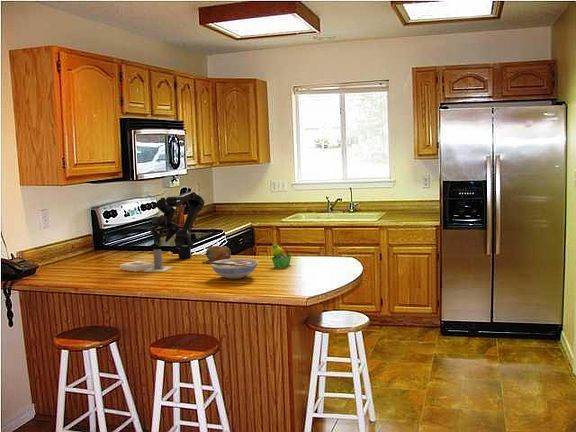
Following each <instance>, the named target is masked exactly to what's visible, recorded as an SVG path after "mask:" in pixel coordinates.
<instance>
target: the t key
mask: <svg viewBox="0 0 576 432" xmlns="http://www.w3.org/2000/svg"><path fill="white" fill-rule="evenodd" d="M152 251H153V263H154V266H152V269H164V268H165V267H166V266H165V265H163V255H162V253H163V252H162V249H161V248H160V249H159V248H157V249H156V248H155V249H153V250H152Z"/></svg>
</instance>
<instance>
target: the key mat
mask: <svg viewBox="0 0 576 432" xmlns="http://www.w3.org/2000/svg"><path fill="white" fill-rule="evenodd" d="M173 268H174V267H173V266H165V268H164V269H152V267H151V268H149V269H145V270H143V272H144V273H165V272H168V271H169V270H171V269H173Z"/></svg>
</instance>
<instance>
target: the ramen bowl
mask: <svg viewBox="0 0 576 432" xmlns="http://www.w3.org/2000/svg"><path fill="white" fill-rule="evenodd" d="M202 264H204V265H210V266H211V268H212V270H213V271H214V272H215V273H216V275H219V276H221V277H223V278H227V279H228V280H240V279H243V278H245V277H246V276H248V275H251V274H252V273H253V272H254V271H255V269H256V268H257V266H258V264H259V260H257V259H255V258H253V259H252V258H240V257H239V258H230V259H225V260H219V261H203V262H202Z"/></svg>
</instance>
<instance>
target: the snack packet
mask: <svg viewBox="0 0 576 432" xmlns="http://www.w3.org/2000/svg"><path fill="white" fill-rule="evenodd" d="M205 253H206V257H207V259H208V260H209V262H215V261H219V260H225V259H231V256H232V251H231V249H230V248H229V247H228V246H226V245H225V246H224V245H223V246H222V245H221V246H218V245H211V246H208V247H207V249H206V252H205Z"/></svg>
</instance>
